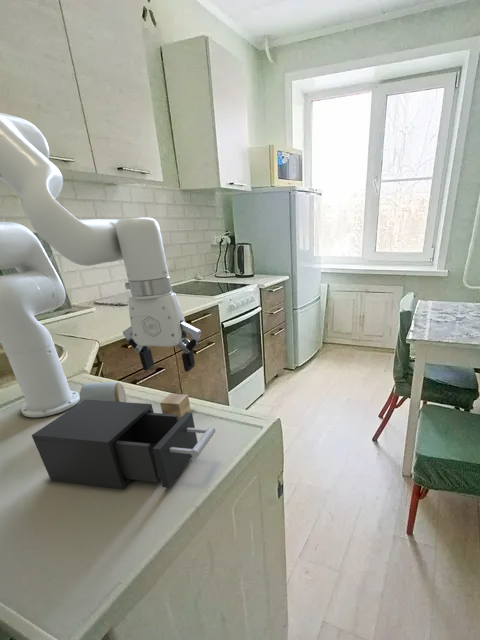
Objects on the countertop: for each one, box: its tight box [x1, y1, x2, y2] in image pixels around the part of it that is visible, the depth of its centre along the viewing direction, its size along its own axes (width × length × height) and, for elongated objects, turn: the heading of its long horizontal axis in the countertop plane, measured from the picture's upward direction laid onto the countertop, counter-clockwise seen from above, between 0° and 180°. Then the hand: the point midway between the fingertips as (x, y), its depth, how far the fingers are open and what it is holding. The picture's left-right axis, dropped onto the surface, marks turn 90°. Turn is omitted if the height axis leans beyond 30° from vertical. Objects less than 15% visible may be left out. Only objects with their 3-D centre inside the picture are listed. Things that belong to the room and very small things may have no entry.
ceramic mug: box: [79, 381, 127, 403], centre depth 84 cm, size 11×8×8 cm
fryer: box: [31, 400, 155, 490], centre depth 64 cm, size 15×13×10 cm
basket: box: [112, 412, 216, 489], centre depth 62 cm, size 19×11×8 cm, turn 78°
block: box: [159, 393, 192, 420], centre depth 80 cm, size 4×4×4 cm
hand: (169, 368), depth 76 cm, fingers open, 9 cm apart
